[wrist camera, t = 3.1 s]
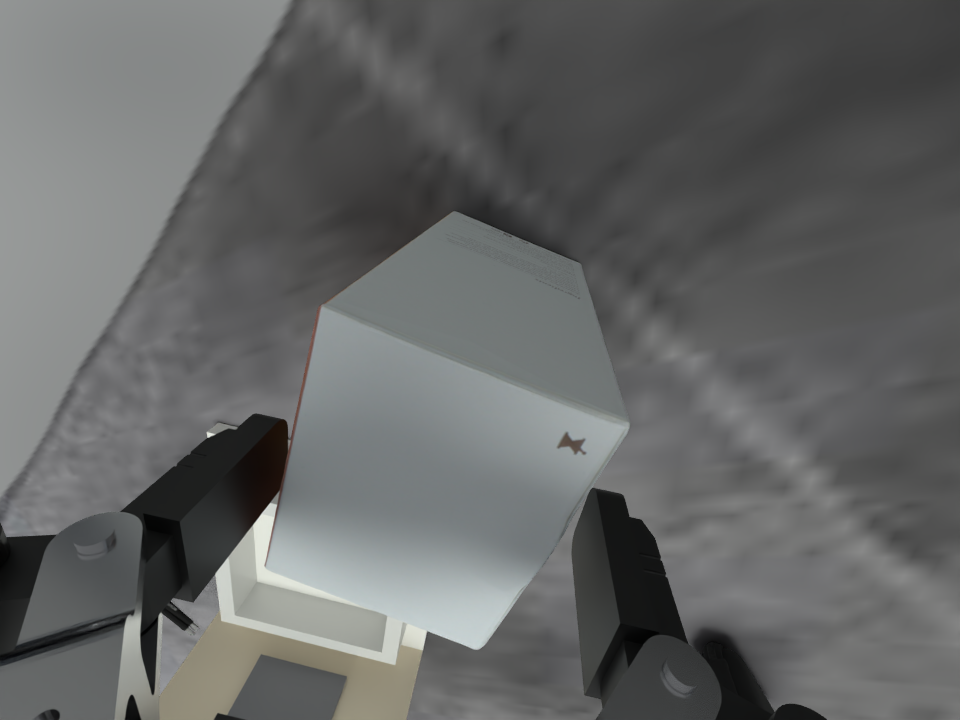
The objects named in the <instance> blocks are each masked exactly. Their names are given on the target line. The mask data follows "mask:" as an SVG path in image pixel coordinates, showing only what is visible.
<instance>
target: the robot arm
mask: <svg viewBox="0 0 960 720" xmlns="http://www.w3.org/2000/svg"><path fill="white" fill-rule="evenodd" d="M287 454H288V425H287V422H286V421H285V420H284V419H279V418H275V417H270V416H266V415H261V414H253V415H251V416H250V417H249V418H248V419H247V420H246V421H245V422H243V423H242V424H241V425H240V426H239V427H238V428H237V429H236V430H235V429H230V428H228V429H226V430H224V431H222V432H219V433H217V434H215V435H213V436H211V437H209V438H207V439H205V440H204V441H203V442H202V443H201V444H200V445H198V446H197V447H196V448H195V449H194V450H192V451H191V454H190V455H187V456H185V457H184V458H183V459H182V460H181V461H180V462H178V463H177V466H176V467H175V466H174V467H172V468H171V469H170V470H169V471H168V472H167V473H165V474H164V475H163V476H162V477H161V478H159V479H158V480H157V481H156V482H155V483H154V484H152V485H151V486H150V487H149V488H148V489H147V490H145V491H144V492H143V493H142V494H141V495H139V496H138V497H137V498H136V499H135V500H134V501H132V502H131V503H130V504H129V505H128V506H126V507H125V508H124V509H123V510H122V511H120V512H106V513H100V514H96V515H93V516H90V517H87V518H84V519H82V520H80V521H77V522H75V523H73V524H72V525H70V526H68V527H67V528H65V529H64V530H62V531H61V532H60V533H58V534H57V535H43V536H22V537H6V535H5V533H4V531H3V528H2V526H1V523H0V720H160V716H159V693H160V668H161V643H162V611H163V609H164V608H165V607H166V606H167V605H168V603H169V602H170V601H171V600H172V599H173V598H176V599H181V600H185V601H189V602H194V601H195V599H196V598H197V597H198V596H199V594H200V593H201V592H202V590H203V589H204V588H205V587H206V585H207V584H208V583H209V581H210V580H211V579H212V577H213V576H214V575H215V574H216V572H217V571H218V570H219V568H220V567H221V566H222V565H223V563H224V562H225V561H226V559H227V558H228V557H229V555H230V554H231V553H232V552H233V550H234V549H235V548H236V546H237V545H238V544H239V543H240V541H241V540H242V539H243V537H244V536H245V535H246V533H247V532H248V531H249V530H250V528H251V527H252V526H253V524H254V523H255V522H256V521H257V519H258V518H259V517H260V515H261V514H262V513H263V511H264V510H265V509H266V508H267V506H268V505H269V504H270V502H271V501H272V500H273V499H274V497H275V496H276V495H277V493H278V492H279V491H280V487H281V482H282V478H283V474H284V470H285V464H286V459H287ZM660 558H661V556H660V553H659V550H658V547H657V544H656V540H655V538H654V536H653V535H652V534H651V532H650V531H649V530H648V528H647V527H646V525H645V524H644V523H643V521H642V520H640V519H636V518H631V517H629V513H628V509H627V506H626V502H625V498H624V496H623V495H622V494H619V493H615V492H610V491H606V490H601V489H596V488H592V489H591V490H590V492H589V494H588V497H587V499H586V502H585V505H584V507H583V510H582V513H581V516H580V518H579V521H578V524H577V526H576V529H575V532H574V536H573V542H572V564H573V575H574V586H575V597H576V608H577V619H578V630H579V641H580V652H581V663H582V674H583V685H584V695H585V696H590V697H594V698H598V699H601V700H602V708H603V709H602V711H601V712H600V714H599V715H598V717H597V718H596V720H827V719H826V718H824V717H823V716H821V715H820V714H818V713H817V712H815V711H813V710H811V709H809V708H807V707H804V706H801V705H797V704H785V705H782V706H781V707H779V708H778V709H777V710H776V712H775V713H774V714H771V713H769V712H767V711H766V710H764V709H762V708H760V707H758V706H757V705H755V704H753V703H751V702H749V701H747V700H746V699H744V698H742V697H740V696H738V695H737V694H735V693H733V692H731V691H730V690H728V689H726V688H725V687H724V686H722V685H721V684H720V683H719V682H718V680H717V677H716V675H715V673H714V672H713V670H712V668H711V667H710V665H709V664H708V663H707V661H706V660H705V659H704V658H703V657H702V656H701V655H700V653H698V652H697V651H696V650H695V649H694V648H693V647H691V646H690V645H689V644H688V642H687V639H686V636H685V633H684V629H683V626H682V623H681V620H680V617H679V614H678V610H677V607H676V604H675V601H674V598H673V594H672V591H671V588H670V585H669V582H668V579H667V577H666V576H665V575H666V572H665V569H664V566H663V563H662V561H661V560H660ZM214 720H245V719H241V718H237V717H233V716H228V715H224V714H220V713H217V715H216V717H215V718H214Z"/></svg>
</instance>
